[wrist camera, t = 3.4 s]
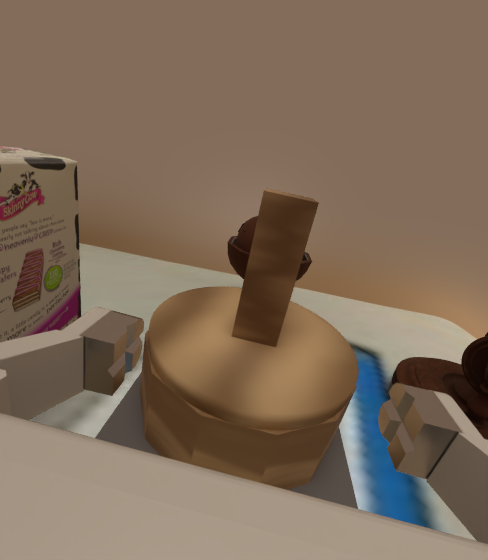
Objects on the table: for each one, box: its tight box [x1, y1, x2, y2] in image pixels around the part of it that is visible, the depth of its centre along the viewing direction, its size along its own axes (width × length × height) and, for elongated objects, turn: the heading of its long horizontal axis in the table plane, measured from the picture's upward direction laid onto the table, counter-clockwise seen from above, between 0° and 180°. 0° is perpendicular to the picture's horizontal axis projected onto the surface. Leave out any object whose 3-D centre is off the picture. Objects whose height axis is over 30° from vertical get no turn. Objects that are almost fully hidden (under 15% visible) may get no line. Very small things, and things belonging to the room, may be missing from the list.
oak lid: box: [140, 188, 359, 490], centre depth 21 cm, size 15×15×17 cm
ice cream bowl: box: [228, 216, 312, 281], centre depth 37 cm, size 11×11×15 cm
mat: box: [96, 372, 358, 509], centre depth 24 cm, size 17×17×1 cm
